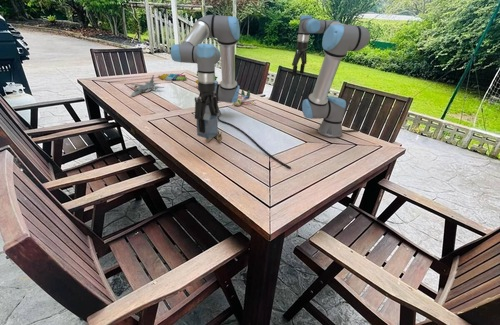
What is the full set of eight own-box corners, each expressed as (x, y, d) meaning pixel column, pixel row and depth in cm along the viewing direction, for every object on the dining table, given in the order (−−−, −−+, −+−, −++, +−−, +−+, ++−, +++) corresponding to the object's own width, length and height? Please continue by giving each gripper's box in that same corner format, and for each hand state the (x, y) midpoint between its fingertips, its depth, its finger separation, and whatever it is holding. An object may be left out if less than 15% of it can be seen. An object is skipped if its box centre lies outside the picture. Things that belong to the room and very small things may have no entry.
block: (206, 131, 133) (206, 113, 128) (217, 134, 130) (217, 116, 125) (197, 135, 128) (196, 116, 123) (208, 139, 125) (208, 120, 120)
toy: (261, 91, 228) (254, 99, 202) (261, 99, 231) (253, 108, 205) (231, 87, 233) (220, 95, 207) (230, 95, 236) (219, 104, 210)
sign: (185, 79, 272) (155, 78, 269) (185, 81, 272) (155, 79, 270) (188, 74, 294) (161, 73, 291) (188, 76, 294) (161, 74, 292)
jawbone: (224, 125, 157) (223, 115, 148) (222, 147, 150) (221, 138, 141) (208, 125, 157) (206, 115, 148) (206, 147, 150) (204, 138, 141)
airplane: (124, 86, 238) (122, 75, 233) (160, 84, 251) (158, 74, 246) (129, 99, 209) (126, 86, 204) (168, 96, 223) (167, 84, 217)
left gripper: (213, 77, 125) (214, 122, 137) (184, 84, 110) (187, 134, 122) (226, 80, 122) (225, 126, 133) (197, 87, 107) (199, 138, 118)
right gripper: (304, 40, 185) (299, 71, 195) (289, 41, 166) (285, 76, 176) (314, 41, 182) (309, 73, 192) (300, 42, 163) (295, 77, 173)
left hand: (207, 129), depth 127 cm, fingers closed on block, 7 cm apart
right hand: (297, 74), depth 184 cm, fingers open, 13 cm apart
